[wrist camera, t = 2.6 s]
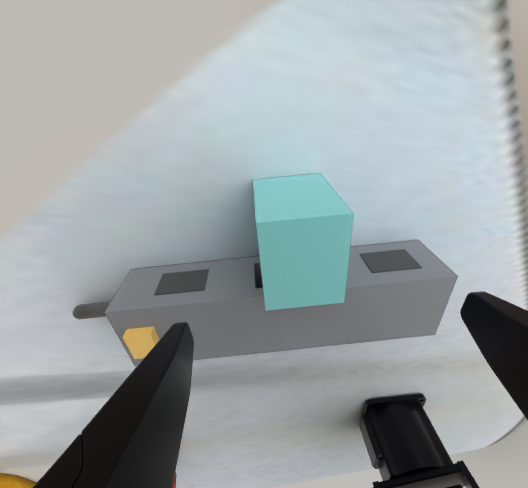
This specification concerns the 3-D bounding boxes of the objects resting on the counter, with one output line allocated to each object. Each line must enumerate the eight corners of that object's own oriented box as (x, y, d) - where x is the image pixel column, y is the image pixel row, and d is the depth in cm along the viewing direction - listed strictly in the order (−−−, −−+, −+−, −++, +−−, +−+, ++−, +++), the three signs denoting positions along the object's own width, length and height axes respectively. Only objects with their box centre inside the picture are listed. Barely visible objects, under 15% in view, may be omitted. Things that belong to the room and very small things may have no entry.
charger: (321, 173, 15) (353, 213, 11) (317, 269, 19) (340, 330, 14) (252, 179, 15) (255, 222, 11) (263, 275, 19) (268, 337, 14)
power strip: (418, 238, 18) (466, 282, 14) (404, 293, 21) (440, 342, 17) (64, 274, 18) (15, 328, 14) (95, 325, 21) (61, 382, 17)
